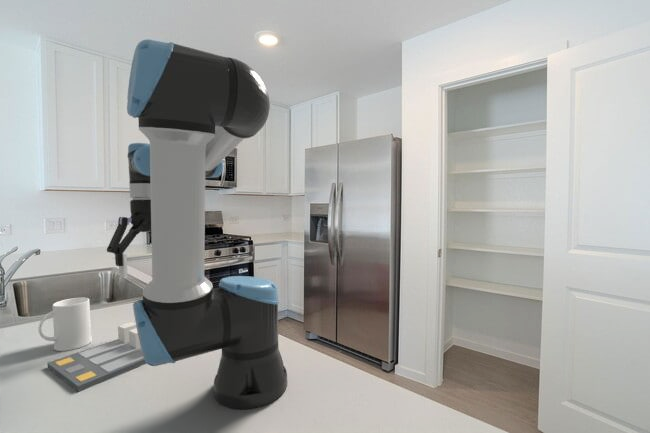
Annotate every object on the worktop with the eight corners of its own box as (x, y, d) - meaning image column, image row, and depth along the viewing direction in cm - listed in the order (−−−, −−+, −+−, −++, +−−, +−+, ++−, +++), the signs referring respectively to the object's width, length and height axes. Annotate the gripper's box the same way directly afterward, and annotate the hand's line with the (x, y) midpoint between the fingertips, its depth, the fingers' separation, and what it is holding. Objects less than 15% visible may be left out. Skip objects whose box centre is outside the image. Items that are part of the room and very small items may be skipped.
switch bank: (176, 350, 87) (176, 345, 87) (78, 391, 69) (78, 385, 69) (141, 335, 97) (141, 331, 97) (47, 367, 79) (47, 362, 79)
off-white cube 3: (138, 338, 92) (137, 324, 91) (124, 343, 89) (124, 328, 88) (131, 335, 94) (131, 321, 93) (118, 340, 91) (117, 325, 90)
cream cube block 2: (149, 343, 88) (149, 328, 88) (136, 348, 85) (135, 333, 85) (142, 340, 90) (142, 326, 90) (129, 345, 87) (128, 330, 87)
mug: (45, 359, 83) (42, 312, 82) (33, 351, 88) (30, 306, 87) (98, 342, 93) (96, 300, 92) (84, 335, 97) (82, 295, 97)
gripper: (177, 198, 107) (179, 263, 108) (89, 199, 86) (93, 280, 87) (191, 198, 103) (194, 266, 104) (103, 199, 82) (107, 283, 83)
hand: (148, 272), depth 95 cm, fingers open, 13 cm apart
